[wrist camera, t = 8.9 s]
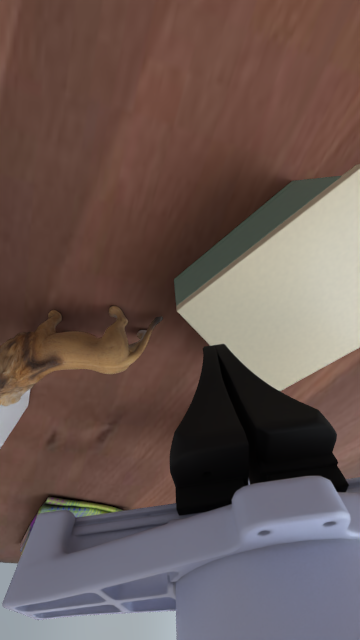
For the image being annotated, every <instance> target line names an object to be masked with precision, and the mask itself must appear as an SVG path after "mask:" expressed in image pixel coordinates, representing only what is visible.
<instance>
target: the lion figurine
mask: <svg viewBox="0 0 360 640" xmlns="http://www.w3.org/2000/svg"><path fill="white" fill-rule="evenodd" d="M109 315H110V316H111V317H116V318H117V321H116V322H115V323H113V324H112V325H111V326H110V327H108V328H107V329H106V331H105V334H104V335H103V337H102V338H97V337H96V336H94V335H91V334H89V333H86V332H80V331H68V332H62V333H56V329H55V327H56V326H57V324H59V323H60V322H61V321H62V316H61V314H60V313H59V312H58V311H56V310H51V311H50V312H49V315H48V318H49V319H48V320H47V321H45V322H43V323H42V324H40V325H39V326H38V328H37V330H36V331H35V332H27V333H26V332H23V333H19V334H17V335H16V336H15V337H14V338H12V339H9V340H8V341H6V342H5V343H3V344H2V345H1V346H0V406H1V405H3V406H9V405H11V404H15V403H17V402H19V400H20V399H21V396H22V395H24V394H25V392H27V391H28V390H30V389H31V388H32V387H33V386H34V384H35V383H37V382H38V381H40V380H41V379H42V378H43V377H44V376H45V375H47V374H49V373H51V372H53V371H56V370H64V369H91V370H94V371H97V372H100V373H104V374H115V373H119V372H122V371H125V370H126V369H127V368H128V367H129V365H130V364H132V363H133V362H134V361H136V360H137V359H138V358H139V356H140V355H141V354H142V352H143V351H144V349H145V347H146V346H147V343H148V341H149V338H150V335H151V333H152V331H153V329H154V327H155V326H156V325H157V324H158V323H159V322H160V321H161V320H162V319H163V317H162V316H161V317H156V318H155V319H154V320H153V321H152V323H151V324H150V325H149V327H148V330H147V331H146V330H140V331H139V332H138V333H137V337H139V339H140V340H139V341H138V342H136V343H133V344H130V345H128V340H127V336H126V333H125V326H126V325H127V323H128V320H127V319H126V317H125V316H124V314H123V312H122V310H121V309H120V308H119V307H117V306H111V307H110V308H109Z"/></svg>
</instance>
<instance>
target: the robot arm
mask: <svg viewBox="0 0 360 640" xmlns="http://www.w3.org/2000/svg"><path fill="white" fill-rule="evenodd" d="M203 354H204V356H203V366H202V372H201V376H200V380H199V383H198V387H197V390H196V392H195V395H194V397H193V400H192V402H191V404H190V407H189V408H188V410H187V412H186V414H185V416H184V418H183V420H182V421H181V423H180V424H179V426H178V428H177V429H176V431H175V433H174V437H173V441H172V445H171V451H170V473H171V475H172V478H173V481H174V484H175V487H176V503H175V504H168V505H161V506H154V507H147V508H140V509H133V510H126V511H119V512H112V513H105V514H97V515H90V516H83V517H75V516H74V514H73V513H72V512H71V511H68V510H59V511H52V512H45V513H40V514H38V515H37V518H36V520H35V523H34V525H33V528H32V530H31V533H30V535H29V538H28V540H27V543H26V545H25V548H24V550H23V553H22V555H21V558H20V560H19V563H18V565H17V568H16V570H15V573H14V575H13V578H12V580H11V583H10V585H9V588H8V590H7V593H6V595H5V598H4V600H3V603H2V606H3V607H4V608H6V609H9V610H12V611H14V612H17V613H20V614H23V615H25V616H28V617H31V618H34V619H37V620H43V619H52V618H61V617H72V616H84V615H99V614H120V613H140V612H160V611H176V629H177V630H176V631H177V640H360V477H358V478H351V479H345V478H344V476H343V474H342V473H341V471H340V470H339V468H338V466H337V464H338V462H337V459H336V458H335V456H334V455H333V453H332V451H333V448H334V445H335V442H336V437H337V434H336V432H335V430H334V428H333V427H332V426H331V424H330V423H329V422H328V420H327V419H326V418H325V417H324V416H323V415H322V414H321V413H320V411H319V410H317V409H315V408H313V407H310V406H308V405H306V404H303V403H301V402H299V401H297V400H295V399H293V398H291V397H289V396H287V395H285V394H284V393H282V392H280V391H278V390H277V389H275V388H273V387H272V386H270V385H269V384H267V383H266V382H265V381H263V380H262V379H260V378H259V377H258V376H256V375H255V374H254V373H253V372H252V371H250V370H249V369H248V368H247V367H246V366H245V365H244V364H243V363H242V362H241V361H240V360H239V359H238V358H237V357H236V356H235V355H234V354H233V353H232V352H231V351H230V350H229V348H228V347H227V346H226V345H225V344H218V345H212V346H206V347H204V348H203Z"/></svg>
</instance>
